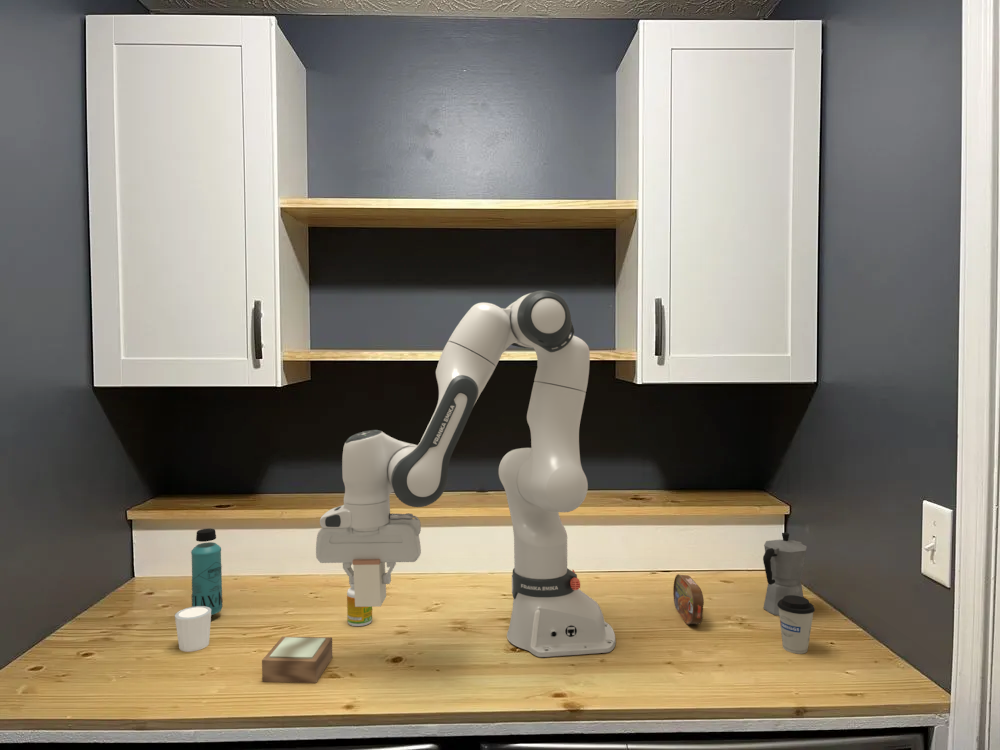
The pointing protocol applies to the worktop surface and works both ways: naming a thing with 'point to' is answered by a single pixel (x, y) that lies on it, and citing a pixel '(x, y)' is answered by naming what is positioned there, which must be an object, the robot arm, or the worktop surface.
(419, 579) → the worktop surface
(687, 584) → the tin
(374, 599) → the two-tone lidded box
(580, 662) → the worktop surface
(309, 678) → the base
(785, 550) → the coffeepot
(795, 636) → the coffee cup
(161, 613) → the worktop surface
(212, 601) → the beverage bottle
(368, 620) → the supplement bottle
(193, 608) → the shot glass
